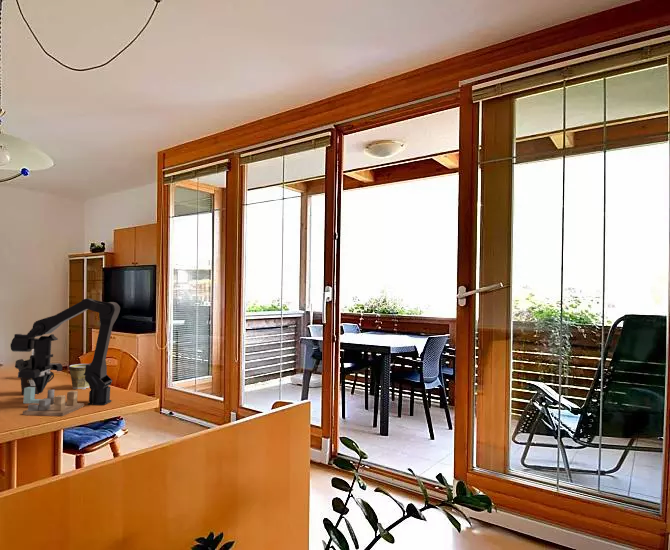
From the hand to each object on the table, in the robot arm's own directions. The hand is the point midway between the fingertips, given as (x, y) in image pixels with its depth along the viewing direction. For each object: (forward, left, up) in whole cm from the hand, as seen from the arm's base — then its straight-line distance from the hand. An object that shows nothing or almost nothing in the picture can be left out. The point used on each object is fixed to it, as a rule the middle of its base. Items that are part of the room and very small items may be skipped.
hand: (39, 392), depth 182 cm
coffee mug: (+11, -15, -4) cm, 19 cm away
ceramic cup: (0, -30, -4) cm, 30 cm away
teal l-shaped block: (-2, +6, -2) cm, 7 cm away
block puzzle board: (-12, +10, -4) cm, 16 cm away
